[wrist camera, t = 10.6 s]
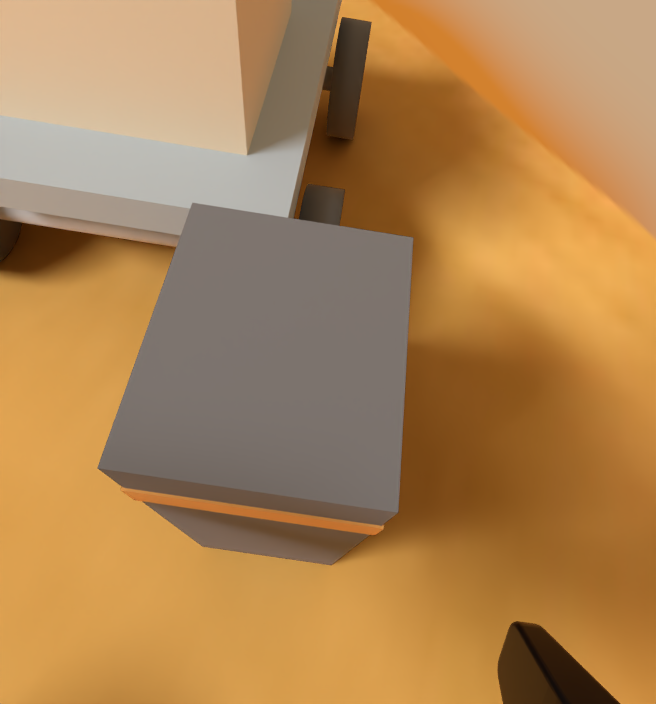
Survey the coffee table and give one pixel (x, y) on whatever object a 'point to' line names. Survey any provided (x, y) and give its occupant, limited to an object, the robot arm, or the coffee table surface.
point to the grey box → (270, 386)
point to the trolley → (168, 111)
